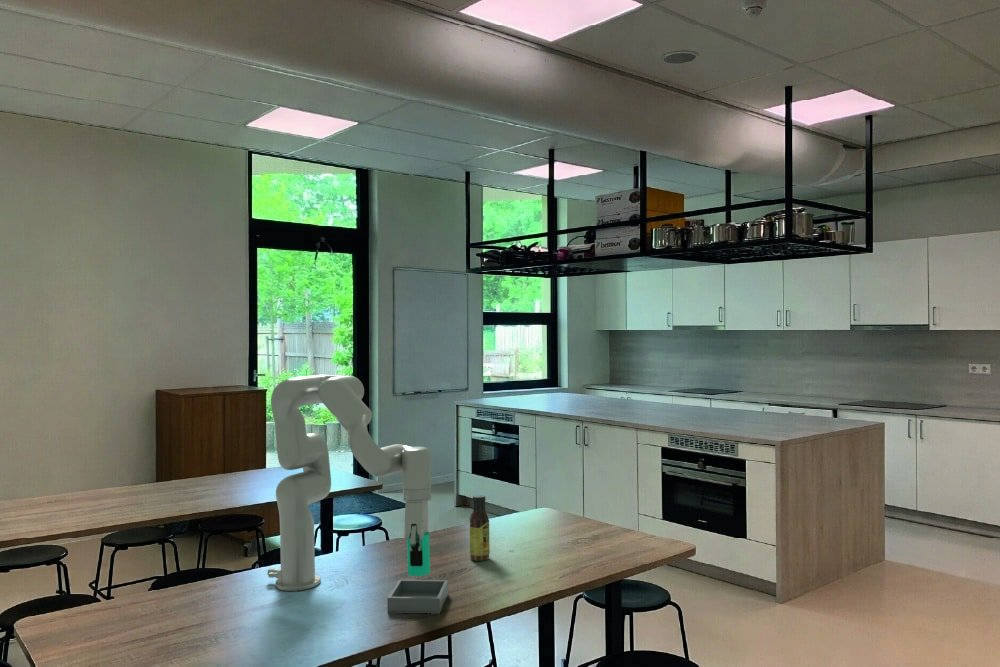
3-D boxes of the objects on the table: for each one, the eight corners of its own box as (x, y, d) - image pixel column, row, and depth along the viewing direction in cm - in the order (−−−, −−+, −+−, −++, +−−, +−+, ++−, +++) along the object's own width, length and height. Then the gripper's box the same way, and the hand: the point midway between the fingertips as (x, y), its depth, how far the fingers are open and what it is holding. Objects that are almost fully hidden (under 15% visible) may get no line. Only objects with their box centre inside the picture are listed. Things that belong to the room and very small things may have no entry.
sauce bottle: (487, 562, 228) (486, 498, 228) (467, 561, 230) (466, 498, 230) (491, 556, 235) (490, 494, 235) (472, 555, 236) (471, 493, 236)
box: (387, 613, 189) (387, 597, 189) (399, 594, 202) (399, 579, 202) (439, 614, 188) (439, 598, 188) (448, 594, 201) (447, 580, 201)
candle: (420, 577, 191) (419, 531, 191) (402, 573, 194) (401, 528, 194) (434, 570, 196) (433, 526, 196) (417, 567, 199) (416, 523, 199)
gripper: (409, 487, 203) (411, 552, 204) (396, 501, 187) (397, 572, 187) (436, 487, 203) (437, 552, 203) (425, 501, 186) (426, 573, 186)
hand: (418, 561), depth 195 cm, fingers closed on candle, 4 cm apart
